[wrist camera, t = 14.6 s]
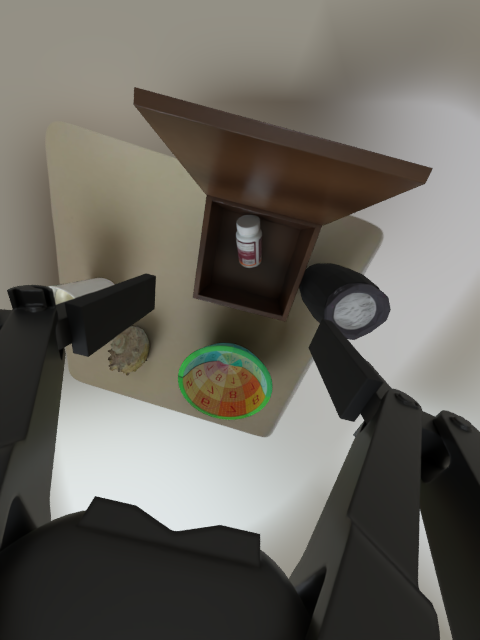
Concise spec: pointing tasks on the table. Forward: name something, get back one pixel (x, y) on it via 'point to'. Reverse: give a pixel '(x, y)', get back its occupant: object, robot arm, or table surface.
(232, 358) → the bowl
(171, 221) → the table surface
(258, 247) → the pill bottle
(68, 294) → the candle holder
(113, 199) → the table surface
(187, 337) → the table surface
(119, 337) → the seashell
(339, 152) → the lid
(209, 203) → the chest
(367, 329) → the portable speaker
